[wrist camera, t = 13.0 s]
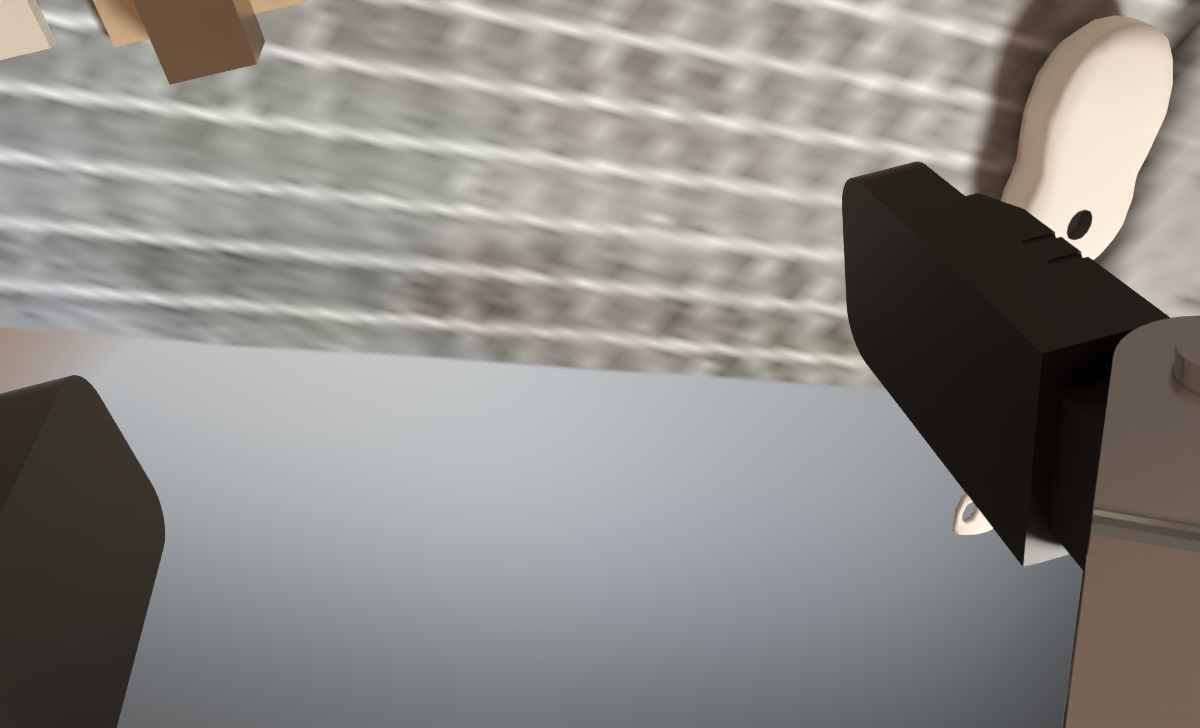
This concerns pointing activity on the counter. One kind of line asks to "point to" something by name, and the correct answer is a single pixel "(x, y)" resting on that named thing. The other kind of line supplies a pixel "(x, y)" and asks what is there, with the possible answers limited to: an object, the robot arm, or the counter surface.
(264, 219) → the counter surface
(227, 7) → the rail
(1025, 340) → the robot arm
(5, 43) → the rack
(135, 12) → the tray
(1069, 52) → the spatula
